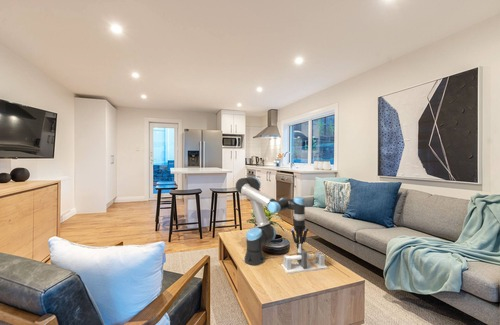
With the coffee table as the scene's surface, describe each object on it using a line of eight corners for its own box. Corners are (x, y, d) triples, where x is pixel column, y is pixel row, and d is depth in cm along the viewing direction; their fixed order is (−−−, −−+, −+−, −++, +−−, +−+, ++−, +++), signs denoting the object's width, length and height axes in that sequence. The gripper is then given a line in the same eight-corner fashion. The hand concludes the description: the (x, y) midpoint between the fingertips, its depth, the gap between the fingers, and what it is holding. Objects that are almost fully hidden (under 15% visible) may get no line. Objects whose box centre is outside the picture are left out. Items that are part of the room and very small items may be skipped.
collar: (303, 268, 159) (303, 252, 158) (297, 261, 169) (297, 246, 169) (306, 268, 159) (306, 252, 159) (300, 261, 170) (300, 246, 170)
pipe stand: (287, 273, 156) (287, 260, 155) (281, 265, 168) (281, 252, 167) (327, 268, 162) (327, 255, 162) (319, 261, 174) (319, 249, 173)
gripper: (292, 221, 158) (292, 255, 158) (310, 220, 160) (310, 253, 161) (288, 218, 165) (288, 251, 166) (305, 217, 168) (305, 249, 168)
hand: (299, 252), depth 163 cm, fingers closed
